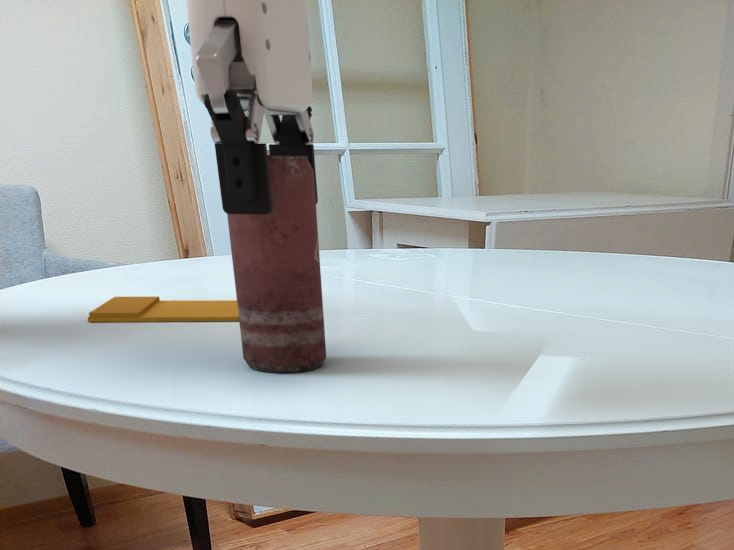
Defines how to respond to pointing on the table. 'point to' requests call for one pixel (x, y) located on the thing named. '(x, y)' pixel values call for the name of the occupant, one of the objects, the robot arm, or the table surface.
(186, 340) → the table surface
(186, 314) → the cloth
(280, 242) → the can
